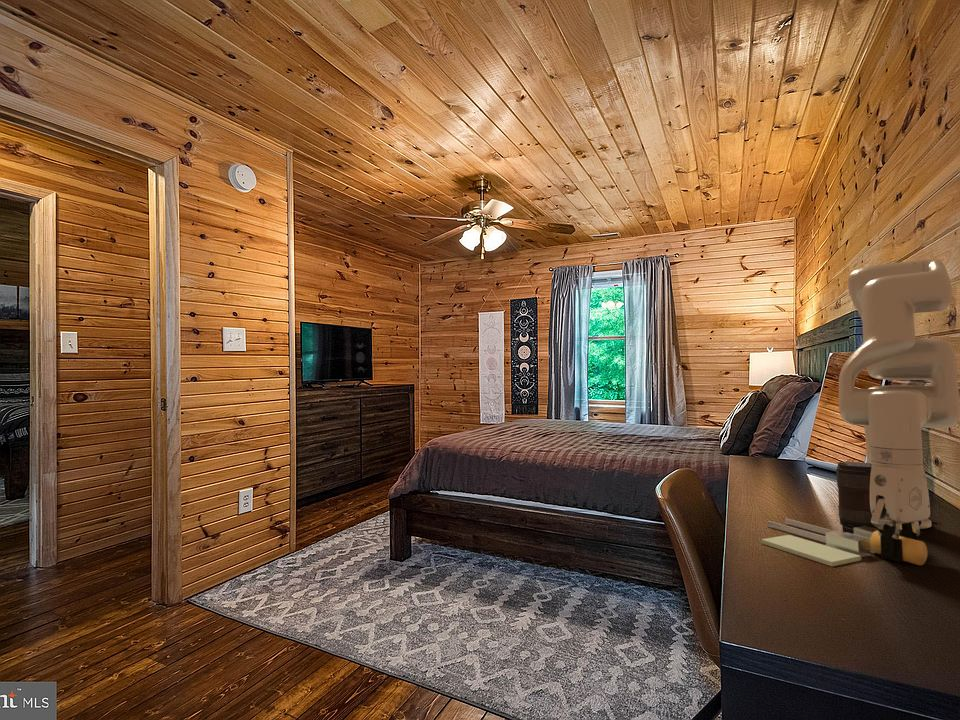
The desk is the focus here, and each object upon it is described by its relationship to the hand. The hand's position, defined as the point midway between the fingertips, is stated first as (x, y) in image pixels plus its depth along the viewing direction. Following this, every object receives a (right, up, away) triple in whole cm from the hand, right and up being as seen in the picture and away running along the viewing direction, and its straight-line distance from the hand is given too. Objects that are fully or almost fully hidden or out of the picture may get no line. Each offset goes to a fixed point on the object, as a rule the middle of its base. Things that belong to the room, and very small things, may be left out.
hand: (900, 556), depth 92 cm
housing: (-5, -1, +13) cm, 14 cm away
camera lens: (+5, -1, +15) cm, 16 cm away
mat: (-14, -1, +5) cm, 15 cm away
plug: (-1, -1, +3) cm, 3 cm away
